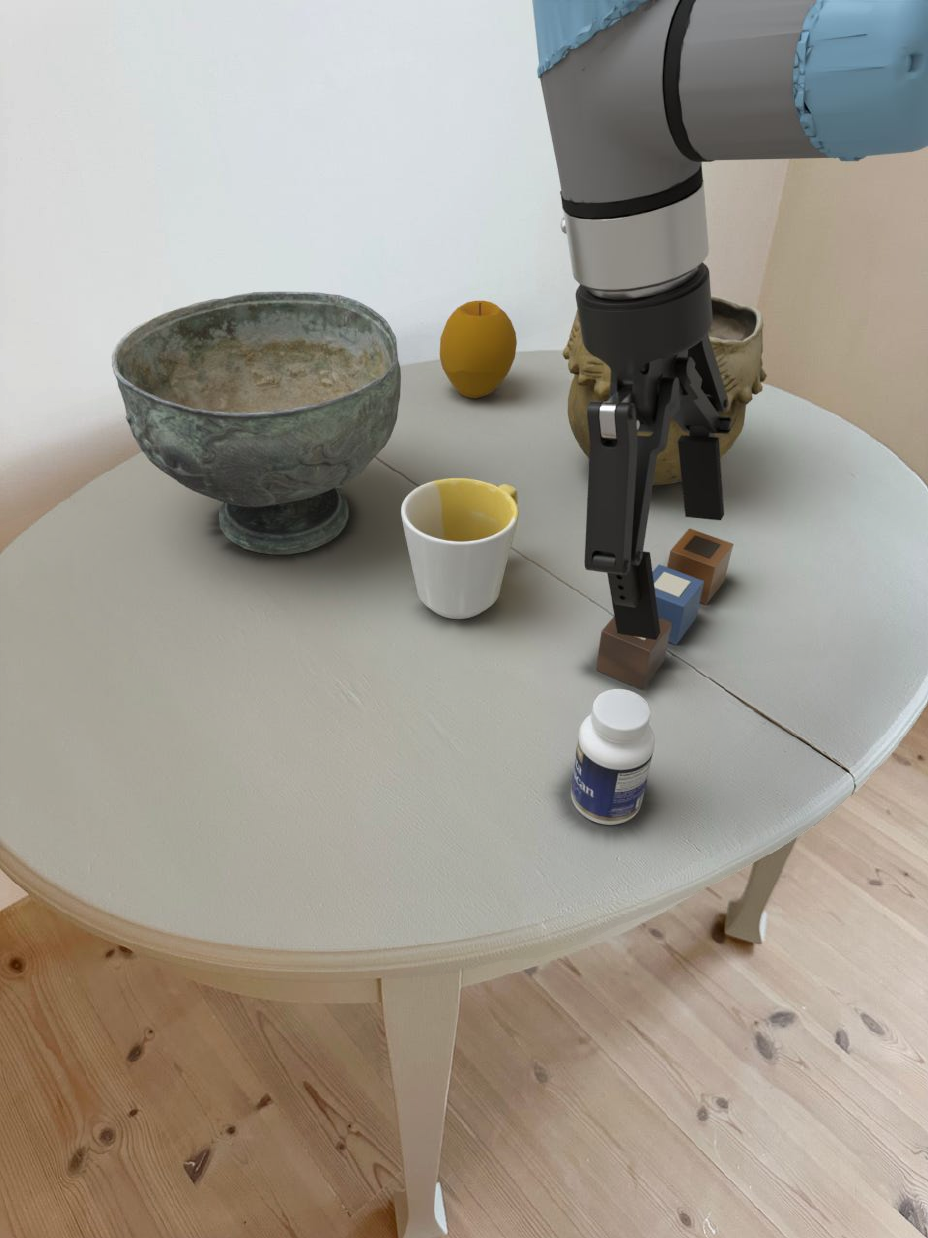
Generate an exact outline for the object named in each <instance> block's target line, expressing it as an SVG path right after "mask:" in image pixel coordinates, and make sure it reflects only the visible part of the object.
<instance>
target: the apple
mask: <svg viewBox="0 0 928 1238" xmlns="http://www.w3.org/2000/svg"><path fill="white" fill-rule="evenodd" d="M439 340H440V341H439V361H440V364H441V367H442V370H443V371H444V373H445V375H446V376H447V378H448V380H449V382H450V383H451V384H452V386H453V387H454V389H456V391H457V392H458V393H459V395H461V396H463V397H466V398H470V399H479V398H482V397H485V396H488V395H490V394H492V392H494V391H495V390H496V389H497V387H499V385H500V384H501V383H502V382H503V381H504V380H505V379H506V377H507V376H508V374H509V372H510V371H511V369H512V365H513V363H514V361H515V358H516V352H517V344H518V340H517V333H516V330H515V327H514V325H513V322H512V320H511V318H510V317H509V316H508V314H507V313H506V311H504V310H503V309H502V308H500V307H499V306H498V305H497V304H496V303H494V302H492V301H488V300H473V301H467V302H466V303H464V304H462V305H460V306H458V307H457V308H456V309H455V310H454V311H453V312H452V313H451V314H450V316H449V317H448V318H447V320H446V322H445V325H444V328H443V330H442V333H441V335H440V338H439Z"/></svg>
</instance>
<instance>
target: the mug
mask: <svg viewBox="0 0 928 1238" xmlns="http://www.w3.org/2000/svg"><path fill="white" fill-rule="evenodd" d="M400 516H401V521H402V526H403V531H404V536H405V542H406V546H407V550H408V555H409V559H410V564H411V569H412V574H413V579H414V584H415V589H416V593H417V595H418V598H419V599H420V601H421V602H422V603H423V604H424V605H425V606H426V607H427V608H428V609H430V610H431V611H432V612H434V613H435V614H437V615H439V616H440V617H443V618H445V619H452V620H465V619H470V618H473V617H476V616H478V615H480V614H481V613H483V612H484V611H486V610H488V609H489V608H490V607H492V606H493V604H494V603H496V601H497V600H498V599H499V596H500V592H501V588H502V583H503V579H504V575H505V571H506V567H507V563H508V559H509V556H510V552H511V548H512V545H513V541H514V537H515V533H516V528H517V524H518V521H519V507H518V490H517V488H515V487H513V486H512V485H509V484H507V483H503V484H500V485H499V486H498V485H495V484H493V483H490V482H487V481H484V480H480V479H474V478H464V477H451V478H450V477H449V478H441V479H436V480H432V481H428V482H426V483H423V484H422V485H418V486H417V487H416V488H414V489H412V490H411V491H410V492H409V493H408V494H407V495H406V497H405V498H404V500H403V501H402V504H401V507H400Z"/></svg>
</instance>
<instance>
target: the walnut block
mask: <svg viewBox="0 0 928 1238" xmlns="http://www.w3.org/2000/svg"><path fill="white" fill-rule="evenodd" d="M658 618H659V617H658ZM659 626H660V634H659V636H658V638H657V640H653V639H647V638H642V637H636V636H630V635H624V634H618V633H617V628H616V622H615V616H614V615H613V617H612V618H611V620H610V621H609V622H608V623H607V624H606V625H605V627H603V629H602V630H601V632H600V638H599V644H598V645H599V647H598V652H597V659H596V667H595V671H598V672H600V673H602V674H605V675H606V676H609V677H612V678H613V679H616V680H618V681H620V682H622V683H624V684H627V685H629V686H632V687H634V688H636V689H639V690H641V691H644V689H645V687H646V686H647V685H648V683H650V681H651V680H652V678H653V676H655V674H656V673H657V672H658V670H659V669H660V667H661V666H662V665H663V663H664V662H665V659H666V655H667V650H668V645H669V642H668V641H669V636H670V631H671V626H672V622H669V621H667V620H664V619H662V618H659Z"/></svg>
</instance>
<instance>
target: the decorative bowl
mask: <svg viewBox="0 0 928 1238" xmlns="http://www.w3.org/2000/svg"><path fill="white" fill-rule="evenodd" d="M399 361H400V360H399V355H398V344H397V337H396V335H395V333H394V332H393V330H392V327H391V326H390V324H389V322H388V321H387V320H386V318H384V317H383V316H382V315H381V314H380V313H378V312H377V311H376V310H374V309H373V308H372V307H370V306H368V305H366V304H364V303H362V302H360V301H358V300H356V299H353V298H350V297H347V296H344V295H340V294H331V293H325V292H324V293H323V292H314V291H313V292H312V291H311V292H310V291H253V292H248V293H241V294H235V295H231V296H227V297H224V298H212V299H208V300H204V301H200V302H199V301H198V302H195V303H192V304H189V305H186V306H181V307H178V308H176V309H173V310H171V311H167V312H163V313H162V314H159V315H158V316H156V317H152V318H151V319H149V320H146V321H144V322H142V323H140V324H139V325H137V326H135V327H134V328H132V329H131V330H130V331H128V332H127V333H126V334H125V335H123V337H122V338H120V340H119V341H118V342H117V343H116V346H115V347H114V348H113V351H112V354H111V367H112V371H113V374H114V376H115V378H116V381H117V387H118V389H119V392H120V395H121V398H122V401H123V404H124V409H125V414H126V415H125V419H126V421H127V423H128V426H129V428H130V431H131V434H132V436H133V437H134V440H135V441H136V443H137V445H138V447H139V448H140V451H141V452H142V453H143V454H144V455H145V456H146V458H147V459H148V461H149V462H150V463H152V465H153V466H155V467H156V468H157V469H159V470H160V471H161V472H163V473H164V474H166V475H168V476H169V477H170V478H172V479H174V480H175V481H176V482H178V484H180V485H182V486H184V487H185V488H188V489H189V490H191V491H192V492H195V493H198V494H199V495H203V496H206V497H207V498H211V499H214V500H216V501H218V502H221V503H222V504H221V506H220V509H219V513H218V520H219V522H218V523H219V529H220V530H221V531H222V533H223V534H224V536H225V537H226V538H227V539H228V540H229V541H231V542H232V543H233V544H235V545H236V546H239V547H240V548H242V549H244V550H248V551H251V552H255V553H259V554H267V555H293V554H299V553H305V552H306V553H307V552H309V551H311V550H314V549H317V548H320V547H322V546H324V545H325V544H327V543H329V542H331V541H332V540H334V539H335V538H337V537H338V536H339V534H340V533H341V532H342V531H343V530H344V528H345V527H346V525H347V522H348V520H349V515H350V514H349V513H350V512H349V505H348V501H347V498H346V496H345V495H344V494H343V492H342V491H341V490H340V489H339V488H338V487H340V486H342V485H343V486H344V485H345V484H347V483H349V482H351V481H352V480H354V479H355V478H357V477H358V476H360V475H361V474H362V473H363V471H365V470H366V468H367V467H368V465H369V464H370V463H371V462H372V461H373V460H374V459H375V458H376V456H377V455H378V454H379V453H380V452H381V451H382V450H383V449H384V448H385V447H386V445H387V444H388V442H389V440H390V439H391V437H392V434H393V432H394V429H395V426H396V424H397V420H398V416H399V415H398V414H399V405H400V401H401V387H402V373H401V365H400V362H399Z"/></svg>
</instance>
